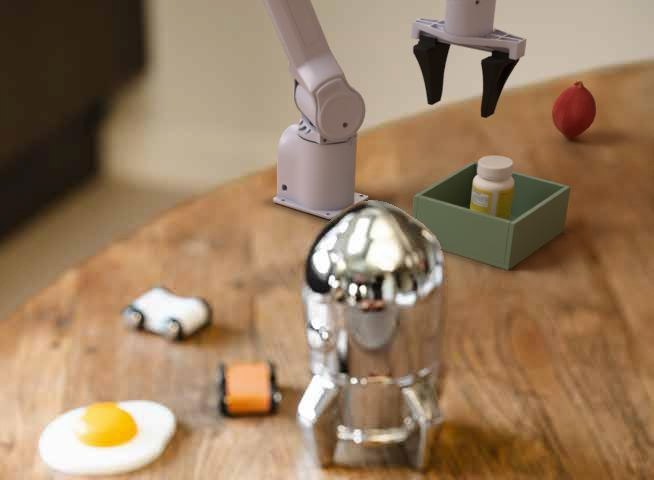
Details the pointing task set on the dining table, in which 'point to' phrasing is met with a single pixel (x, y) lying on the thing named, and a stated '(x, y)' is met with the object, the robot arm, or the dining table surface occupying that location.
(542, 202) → the bin
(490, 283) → the dining table surface
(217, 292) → the dining table surface
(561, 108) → the onion
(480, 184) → the supplement bottle
